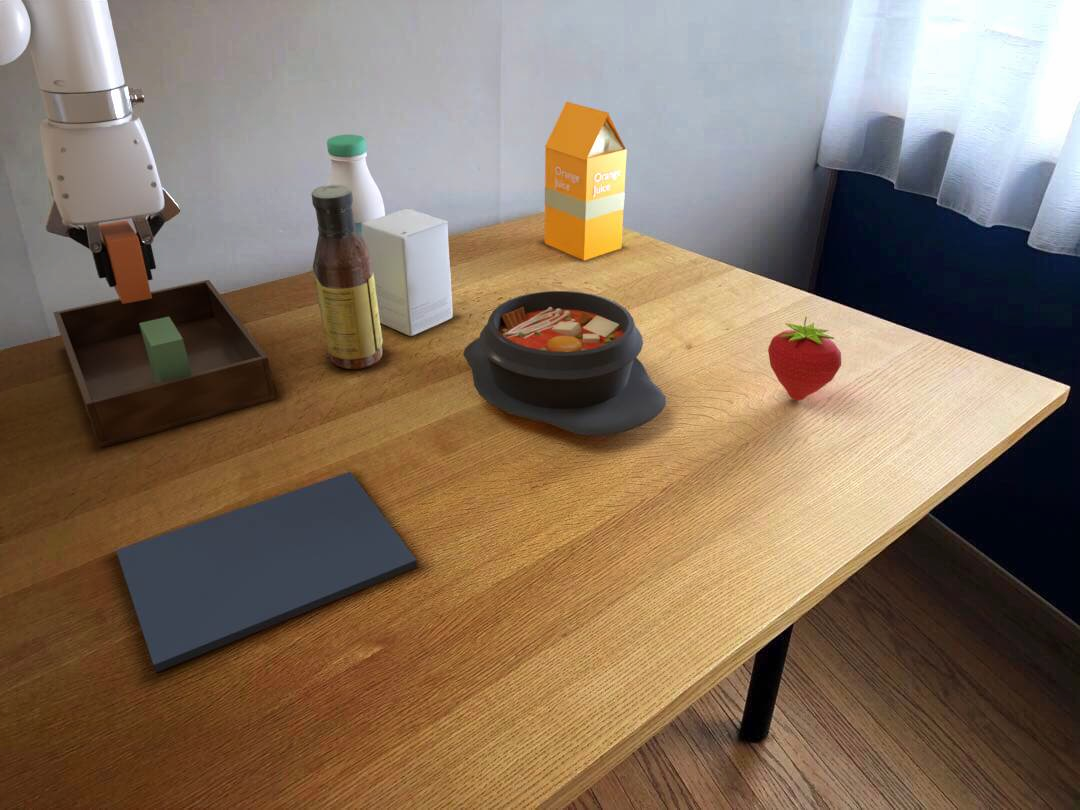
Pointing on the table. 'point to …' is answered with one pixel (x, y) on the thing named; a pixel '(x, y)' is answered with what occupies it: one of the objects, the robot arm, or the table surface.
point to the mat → (258, 567)
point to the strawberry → (803, 359)
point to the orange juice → (584, 183)
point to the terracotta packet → (126, 261)
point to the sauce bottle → (345, 282)
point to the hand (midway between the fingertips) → (128, 277)
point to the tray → (125, 372)
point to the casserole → (565, 363)
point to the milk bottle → (355, 177)
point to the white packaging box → (410, 270)
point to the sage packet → (165, 349)
